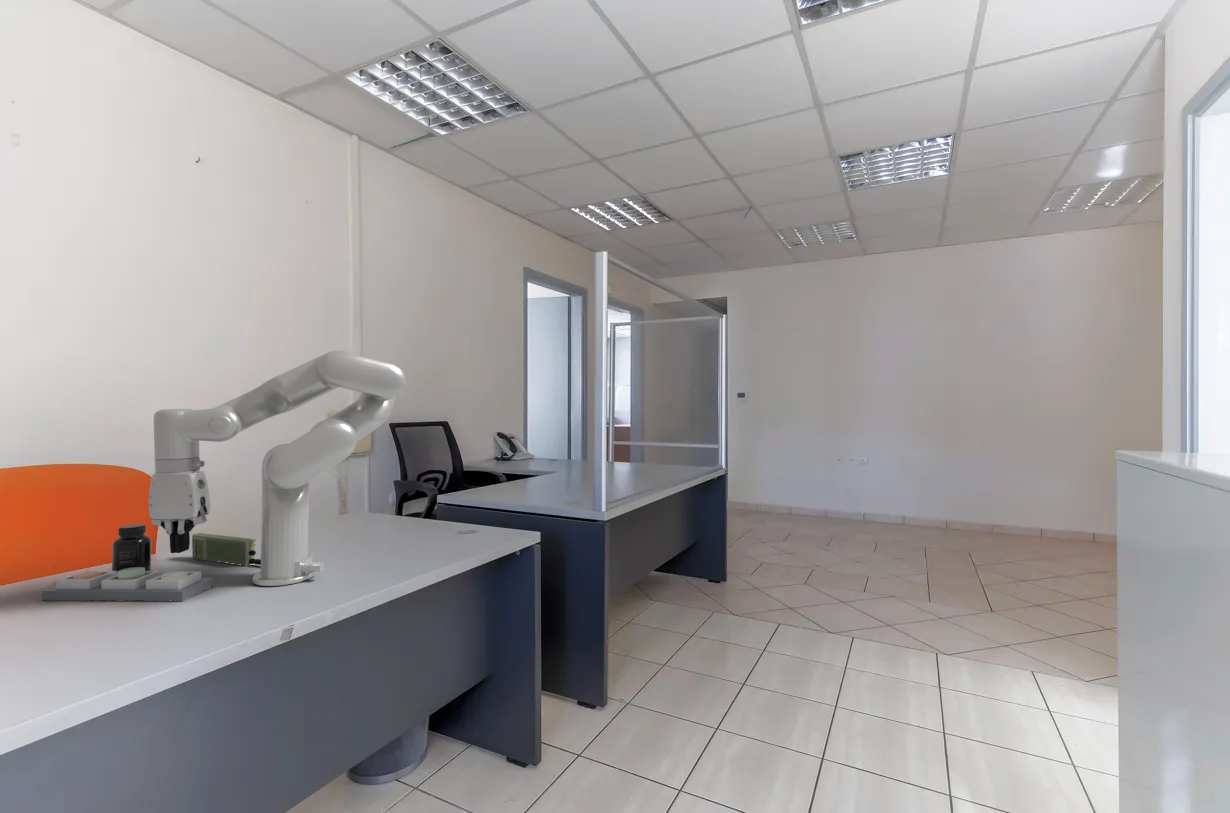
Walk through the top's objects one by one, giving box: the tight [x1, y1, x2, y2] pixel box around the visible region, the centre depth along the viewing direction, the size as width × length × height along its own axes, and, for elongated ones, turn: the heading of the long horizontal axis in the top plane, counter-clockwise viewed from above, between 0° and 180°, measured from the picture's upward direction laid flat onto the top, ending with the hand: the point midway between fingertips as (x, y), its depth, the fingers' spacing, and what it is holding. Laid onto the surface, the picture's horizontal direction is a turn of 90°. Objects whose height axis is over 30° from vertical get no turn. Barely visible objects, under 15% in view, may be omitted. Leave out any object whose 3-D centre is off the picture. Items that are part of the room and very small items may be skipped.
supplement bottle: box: [111, 523, 152, 574], centre depth 127 cm, size 7×7×12 cm
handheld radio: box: [191, 532, 261, 566], centre depth 140 cm, size 7×3×25 cm
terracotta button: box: [73, 570, 102, 579], centre depth 116 cm, size 4×4×2 cm
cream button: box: [161, 572, 188, 580], centre depth 117 cm, size 4×4×2 cm
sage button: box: [117, 567, 145, 580], centre depth 116 cm, size 4×4×2 cm
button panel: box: [41, 570, 214, 602], centre depth 116 cm, size 28×9×4 cm, turn 92°
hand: (180, 551), depth 117 cm, fingers closed
